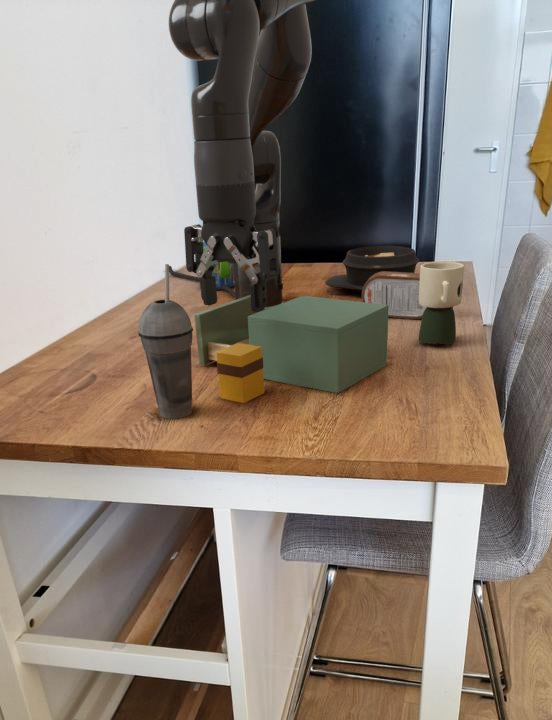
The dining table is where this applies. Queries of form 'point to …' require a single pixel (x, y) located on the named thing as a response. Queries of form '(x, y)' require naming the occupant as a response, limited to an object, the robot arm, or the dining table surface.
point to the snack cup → (223, 273)
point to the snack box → (240, 372)
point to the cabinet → (321, 341)
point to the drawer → (222, 328)
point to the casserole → (373, 265)
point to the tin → (395, 293)
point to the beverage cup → (168, 353)
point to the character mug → (439, 300)
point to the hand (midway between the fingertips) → (233, 307)
